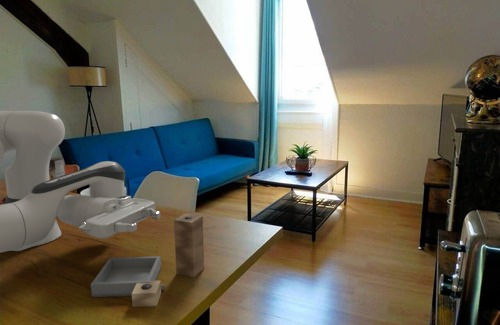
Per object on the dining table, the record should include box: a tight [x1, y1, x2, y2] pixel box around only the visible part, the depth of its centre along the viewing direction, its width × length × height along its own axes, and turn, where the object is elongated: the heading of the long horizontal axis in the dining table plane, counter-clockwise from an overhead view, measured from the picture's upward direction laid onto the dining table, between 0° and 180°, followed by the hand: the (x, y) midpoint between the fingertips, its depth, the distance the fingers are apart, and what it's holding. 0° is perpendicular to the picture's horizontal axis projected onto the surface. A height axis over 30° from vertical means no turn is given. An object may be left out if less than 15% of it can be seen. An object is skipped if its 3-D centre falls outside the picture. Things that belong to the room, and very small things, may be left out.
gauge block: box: [131, 279, 166, 308], centre depth 77 cm, size 6×7×3 cm
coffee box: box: [49, 156, 66, 179], centre depth 157 cm, size 9×6×16 cm
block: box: [173, 213, 205, 278], centre depth 87 cm, size 5×5×14 cm
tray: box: [90, 255, 162, 298], centre depth 83 cm, size 13×13×3 cm
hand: (147, 221), depth 90 cm, fingers open, 8 cm apart
